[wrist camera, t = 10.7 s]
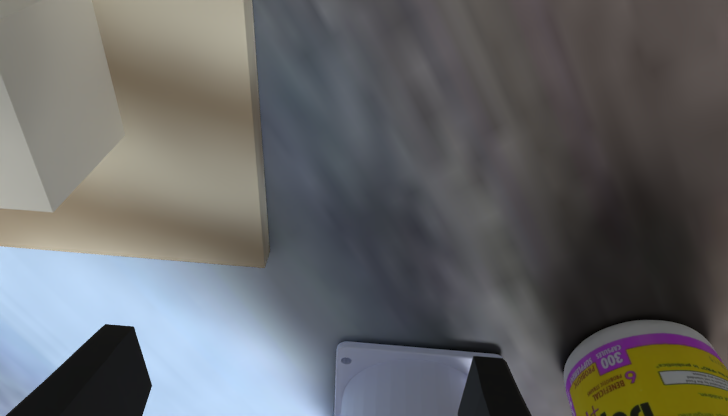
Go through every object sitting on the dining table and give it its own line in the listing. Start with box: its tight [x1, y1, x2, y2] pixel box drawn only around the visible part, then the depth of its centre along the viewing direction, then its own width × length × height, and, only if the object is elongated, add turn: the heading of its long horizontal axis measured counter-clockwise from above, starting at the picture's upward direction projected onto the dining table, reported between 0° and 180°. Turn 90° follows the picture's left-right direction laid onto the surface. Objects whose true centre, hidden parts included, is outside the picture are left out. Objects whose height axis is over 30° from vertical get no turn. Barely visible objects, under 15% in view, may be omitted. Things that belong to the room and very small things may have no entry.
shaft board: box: [0, 0, 270, 268], centre depth 16 cm, size 16×14×4 cm
